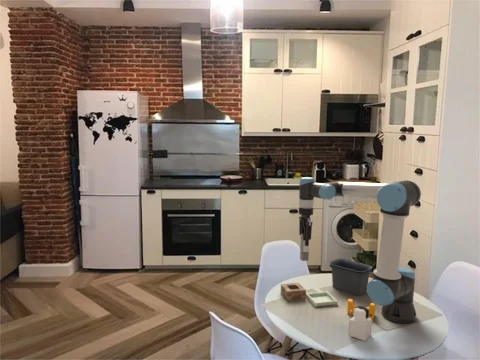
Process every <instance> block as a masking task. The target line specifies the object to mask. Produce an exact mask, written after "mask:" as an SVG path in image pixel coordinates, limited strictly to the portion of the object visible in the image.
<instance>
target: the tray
mask: <svg viewBox="0 0 480 360" xmlns="http://www.w3.org/2000/svg"><path fill="white" fill-rule="evenodd" d="M306 299H307V300H308V301H309V302H310V304H311V303H312V304H311V305H312V306H313V307H314V308H323V307H324V306H325V307H333V305H335V306H338V303H339V300H337V299H336V298H335V297H334V296H333V295H332V294H331V293H330V292H329V291H327V290H326V291H317V292H306Z"/></svg>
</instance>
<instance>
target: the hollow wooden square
mask: <svg viewBox="0 0 480 360" xmlns="http://www.w3.org/2000/svg"><path fill="white" fill-rule="evenodd" d="M306 293H307V289H306V288H304V286H302V285H301V283H300V282H292V283H290V282H289V283H281V284H280V294H281V295H282V297H284V299H285V300H286V301H289V302H291V301H302V300H306V299H307V298H306Z"/></svg>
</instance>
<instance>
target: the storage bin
mask: <svg viewBox="0 0 480 360" xmlns="http://www.w3.org/2000/svg"><path fill="white" fill-rule="evenodd" d="M328 263H329V267H330V268H331V277H332V278H331V279H332V281H331V283H332V288H336V289H338V290H339V291H340V290H341V291H343V292H347V293H350V294H353V295H354V296H361V295H363V294H365V293H367V285H368V283H369V279H370V278H369V277H370V273H371V272H372V269H373V266H371V265H368V264H367V263H365V264H364V263H361V262H357V261H355V260H350V259H345V258H341V257H339V258H336V259H334V260H330V261H329V262H328ZM372 273H373V272H372Z"/></svg>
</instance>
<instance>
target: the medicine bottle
mask: <svg viewBox="0 0 480 360" xmlns="http://www.w3.org/2000/svg"><path fill="white" fill-rule="evenodd" d="M366 307H367V306H365V307H364V306H361V305H357V306H356V307H355V308H354V315H353V316H352V317H351V318H350V319H349V326H348V336H349V337H352V338H354V339H355V338H356V339H358V340H360V341H364V342H365V341H367V339H369V337H371V336H372V327H373V319H372V318H369V310H368V309H367V308H366Z"/></svg>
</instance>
